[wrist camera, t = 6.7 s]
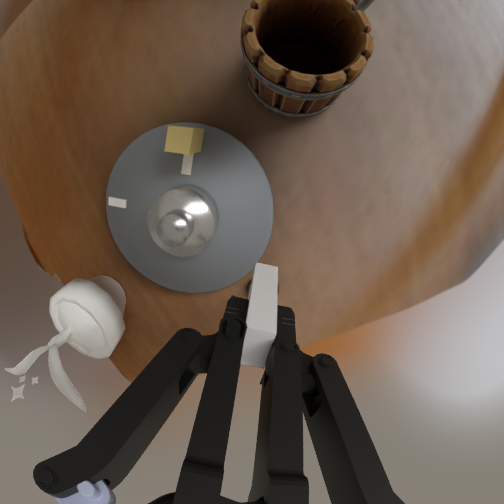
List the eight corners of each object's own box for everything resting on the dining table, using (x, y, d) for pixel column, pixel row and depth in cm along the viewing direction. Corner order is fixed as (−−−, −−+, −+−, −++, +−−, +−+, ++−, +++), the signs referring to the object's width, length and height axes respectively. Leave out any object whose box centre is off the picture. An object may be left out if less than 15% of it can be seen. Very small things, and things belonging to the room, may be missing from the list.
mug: (301, 137, 28) (324, 138, 14) (227, 80, 26) (187, 39, 12) (382, 52, 22) (447, 11, 9) (312, -2, 20) (333, -73, 7)
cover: (162, 178, 27) (141, 188, 23) (224, 191, 28) (214, 203, 23) (156, 237, 30) (137, 255, 26) (213, 251, 31) (202, 273, 26)
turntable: (121, 117, 27) (92, 116, 21) (291, 140, 27) (296, 141, 21) (114, 265, 35) (92, 286, 29) (253, 299, 35) (249, 329, 30)
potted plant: (73, 284, 40) (-15, 380, 17) (101, 245, 36) (-18, 354, 13) (124, 334, 43) (58, 447, 20) (159, 304, 39) (81, 445, 16)
